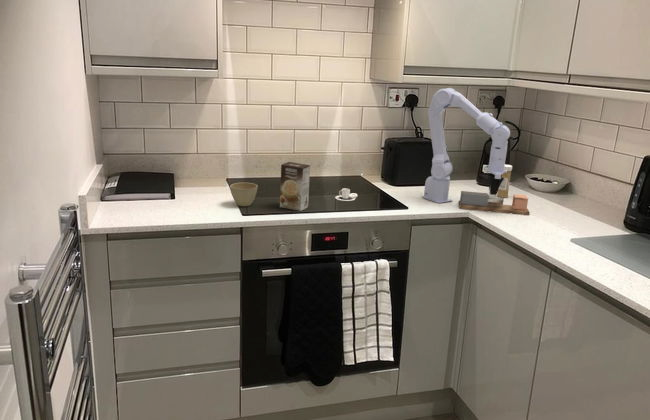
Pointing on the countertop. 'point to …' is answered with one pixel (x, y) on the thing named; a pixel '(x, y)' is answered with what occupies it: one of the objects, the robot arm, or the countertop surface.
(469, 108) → the robot arm
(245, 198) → the bowl
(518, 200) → the socket
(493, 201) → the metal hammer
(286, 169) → the coffee box
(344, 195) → the teacup and saucer
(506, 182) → the sprinkles bottle
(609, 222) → the countertop surface
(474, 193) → the sleeve
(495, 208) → the walnut board
